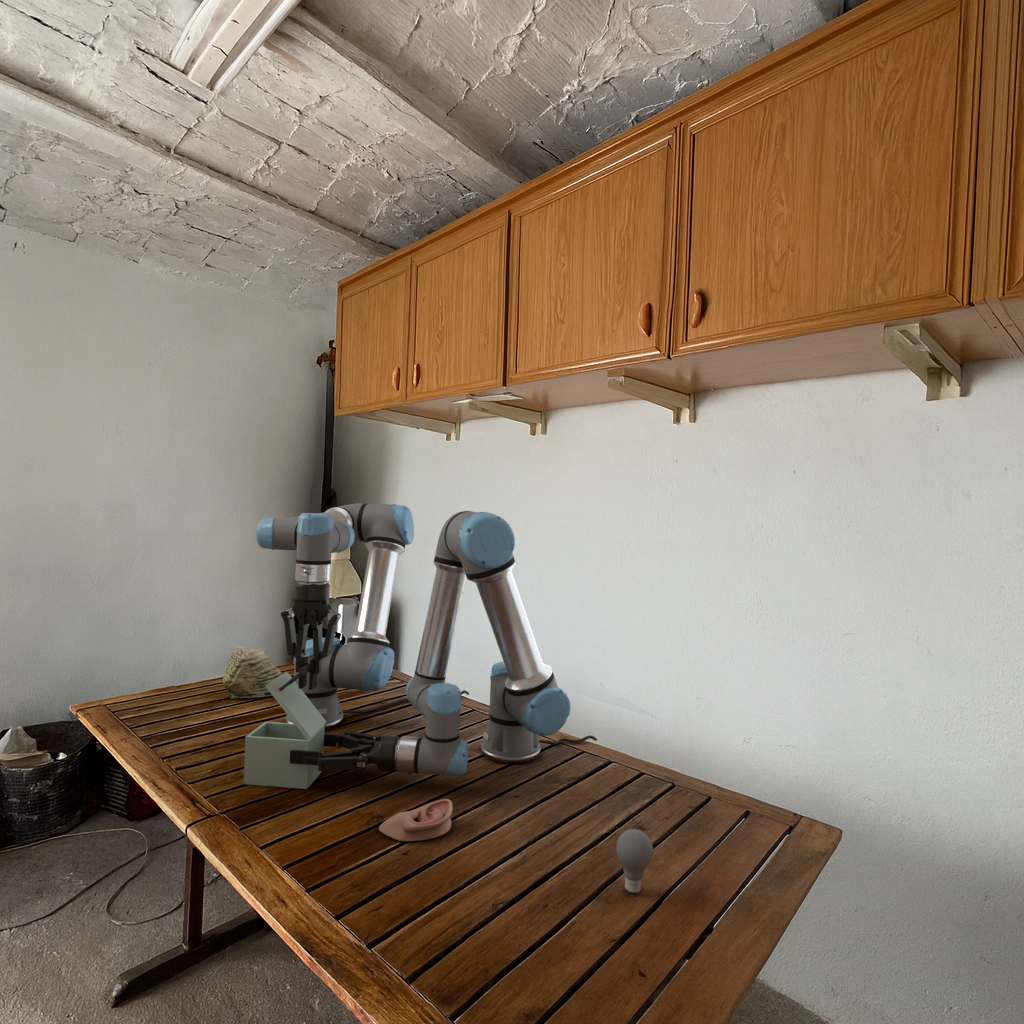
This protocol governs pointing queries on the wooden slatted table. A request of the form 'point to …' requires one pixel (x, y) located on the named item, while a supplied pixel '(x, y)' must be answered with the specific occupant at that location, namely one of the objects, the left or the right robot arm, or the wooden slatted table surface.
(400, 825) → the anatomical model
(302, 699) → the lid
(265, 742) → the chest
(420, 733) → the wooden slatted table surface
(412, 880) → the wooden slatted table surface
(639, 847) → the light bulb
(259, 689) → the fossil
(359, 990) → the wooden slatted table surface
